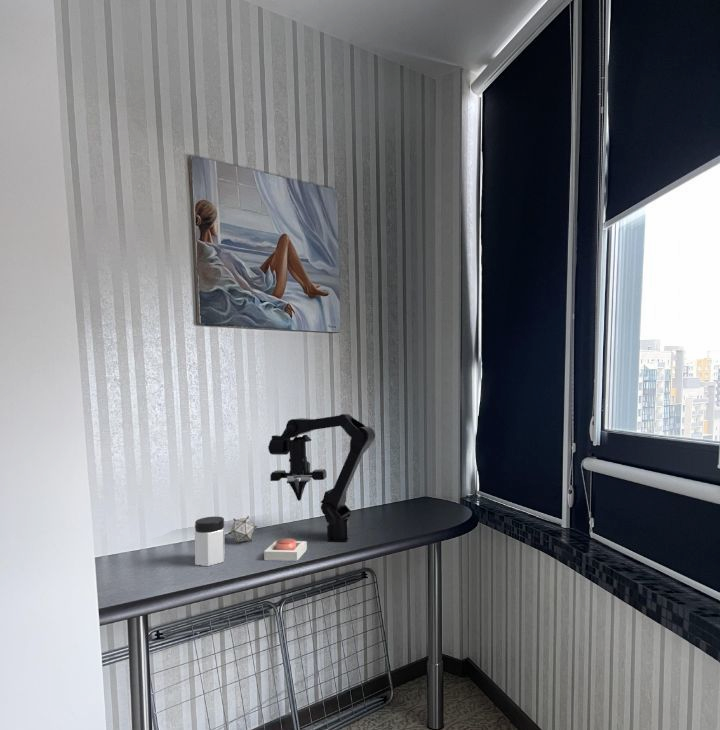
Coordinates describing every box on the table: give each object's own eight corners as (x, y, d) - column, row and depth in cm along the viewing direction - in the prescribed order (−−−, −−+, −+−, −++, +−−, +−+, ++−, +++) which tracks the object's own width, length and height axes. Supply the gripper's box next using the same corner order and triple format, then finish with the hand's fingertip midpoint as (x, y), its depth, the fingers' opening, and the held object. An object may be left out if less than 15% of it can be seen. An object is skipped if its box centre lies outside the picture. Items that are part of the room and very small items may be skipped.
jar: (198, 557, 140) (197, 517, 141) (225, 555, 141) (225, 515, 142) (193, 568, 131) (192, 525, 132) (222, 565, 132) (222, 522, 133)
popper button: (298, 550, 142) (298, 537, 142) (292, 557, 136) (292, 544, 136) (280, 550, 143) (279, 537, 143) (273, 557, 137) (272, 543, 137)
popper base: (306, 549, 144) (306, 541, 144) (297, 560, 134) (297, 552, 134) (276, 548, 145) (275, 540, 146) (264, 560, 136) (264, 551, 136)
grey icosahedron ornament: (236, 554, 152) (217, 530, 153) (253, 538, 160) (235, 515, 160) (250, 545, 148) (231, 520, 148) (266, 529, 155) (248, 505, 155)
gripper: (328, 451, 168) (330, 495, 166) (278, 452, 170) (280, 495, 169) (322, 455, 157) (324, 502, 155) (269, 456, 159) (270, 502, 158)
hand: (299, 500), depth 160 cm, fingers closed
